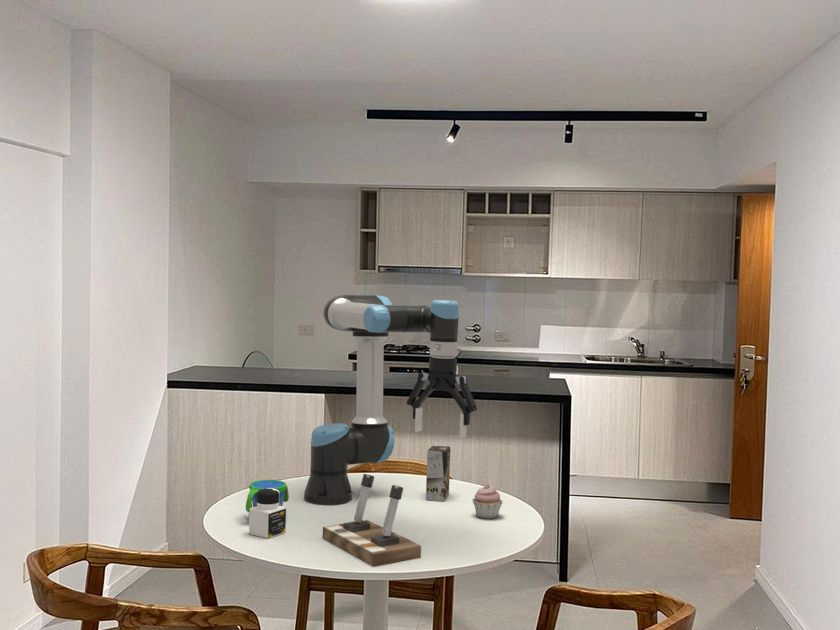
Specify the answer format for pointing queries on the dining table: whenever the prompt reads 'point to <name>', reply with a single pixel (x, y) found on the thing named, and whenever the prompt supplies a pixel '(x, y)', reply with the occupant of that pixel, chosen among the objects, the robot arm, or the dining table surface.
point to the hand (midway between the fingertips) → (440, 434)
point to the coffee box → (438, 473)
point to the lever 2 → (392, 509)
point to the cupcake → (487, 502)
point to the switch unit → (371, 542)
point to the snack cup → (264, 484)
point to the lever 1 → (363, 496)
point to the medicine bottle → (267, 515)
